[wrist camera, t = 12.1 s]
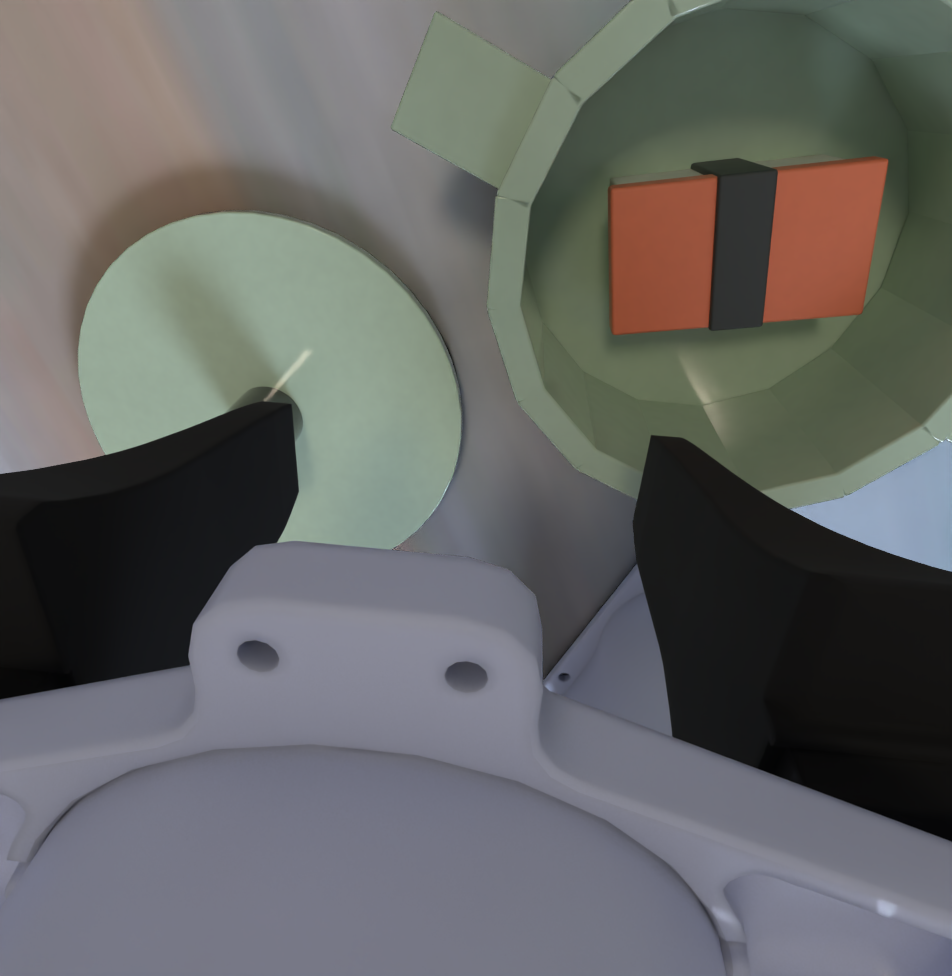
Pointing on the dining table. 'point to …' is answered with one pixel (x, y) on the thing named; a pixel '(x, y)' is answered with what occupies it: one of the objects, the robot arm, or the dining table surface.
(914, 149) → the pot
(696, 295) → the sushi
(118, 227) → the dining table surface
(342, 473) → the pot lid
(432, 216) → the dining table surface
